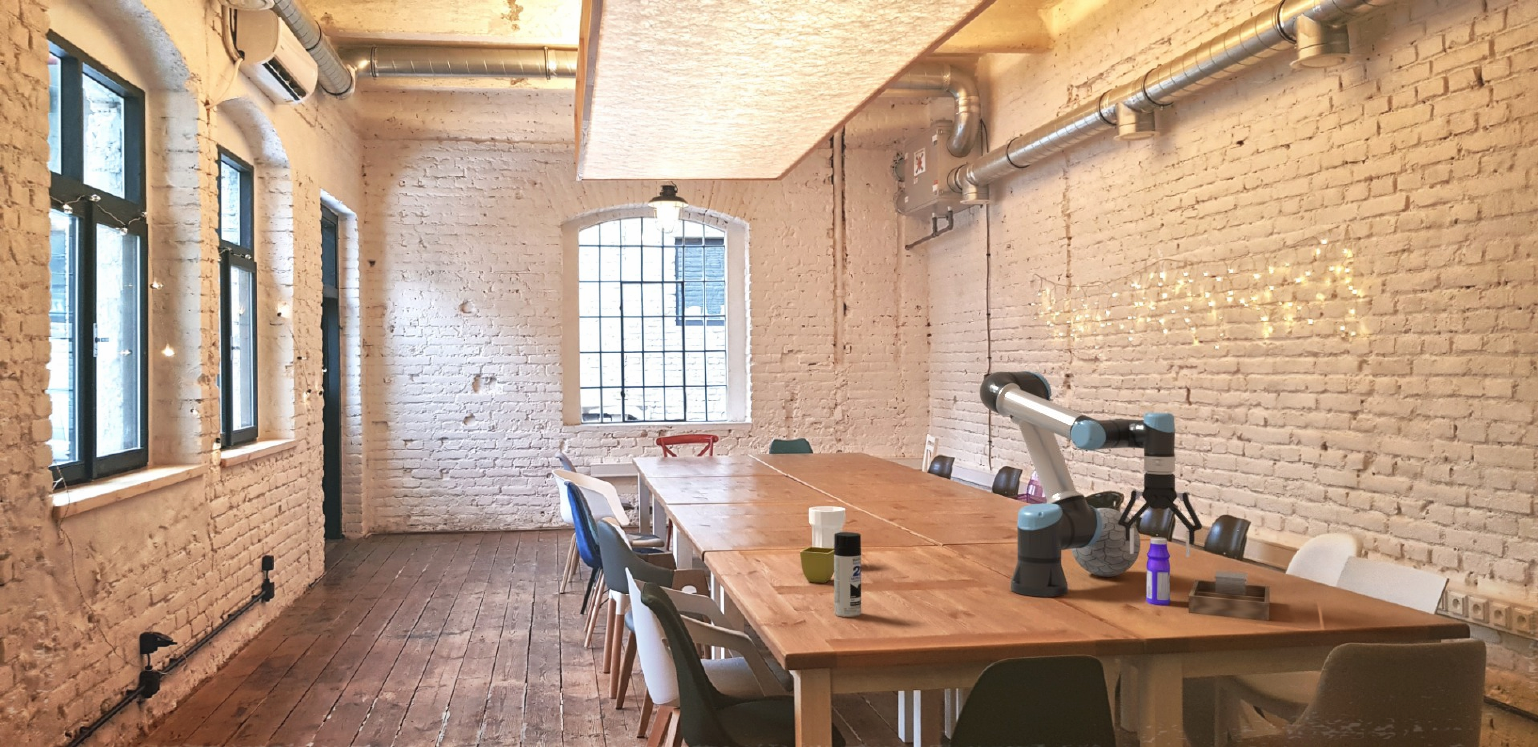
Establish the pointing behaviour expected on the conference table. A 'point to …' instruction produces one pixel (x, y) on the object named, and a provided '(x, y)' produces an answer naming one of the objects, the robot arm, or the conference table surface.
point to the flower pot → (817, 563)
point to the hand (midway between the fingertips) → (1159, 554)
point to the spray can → (847, 574)
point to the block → (1230, 583)
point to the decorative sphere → (1109, 547)
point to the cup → (826, 524)
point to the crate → (1230, 601)
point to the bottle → (1158, 572)
